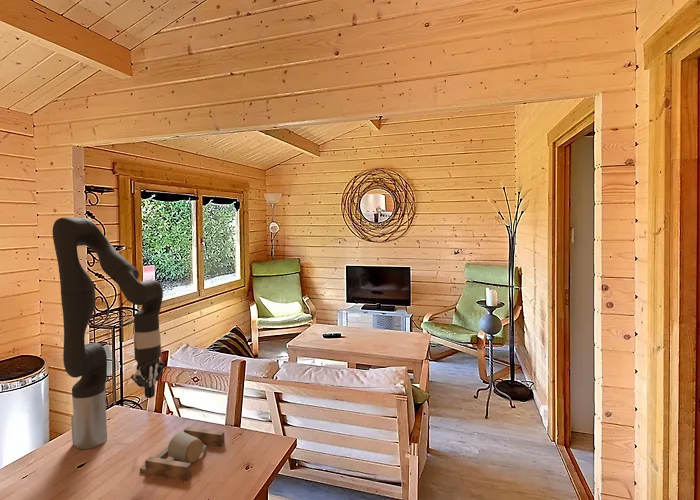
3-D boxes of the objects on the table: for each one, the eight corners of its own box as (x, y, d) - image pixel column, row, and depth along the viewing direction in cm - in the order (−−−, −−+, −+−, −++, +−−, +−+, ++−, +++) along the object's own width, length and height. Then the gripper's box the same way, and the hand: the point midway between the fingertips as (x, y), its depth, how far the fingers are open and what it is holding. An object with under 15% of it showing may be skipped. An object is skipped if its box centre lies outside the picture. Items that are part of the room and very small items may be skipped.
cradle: (139, 472, 122) (139, 459, 122) (182, 437, 141) (182, 426, 141) (187, 480, 118) (186, 467, 118) (224, 443, 137) (224, 432, 137)
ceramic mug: (186, 469, 123) (186, 444, 123) (167, 462, 127) (166, 438, 126) (212, 451, 133) (212, 428, 133) (193, 445, 137) (193, 423, 136)
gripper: (152, 337, 137) (154, 387, 138) (121, 349, 124) (124, 405, 126) (171, 338, 135) (173, 389, 137) (142, 351, 122) (144, 407, 124)
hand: (149, 396), depth 131 cm, fingers closed
